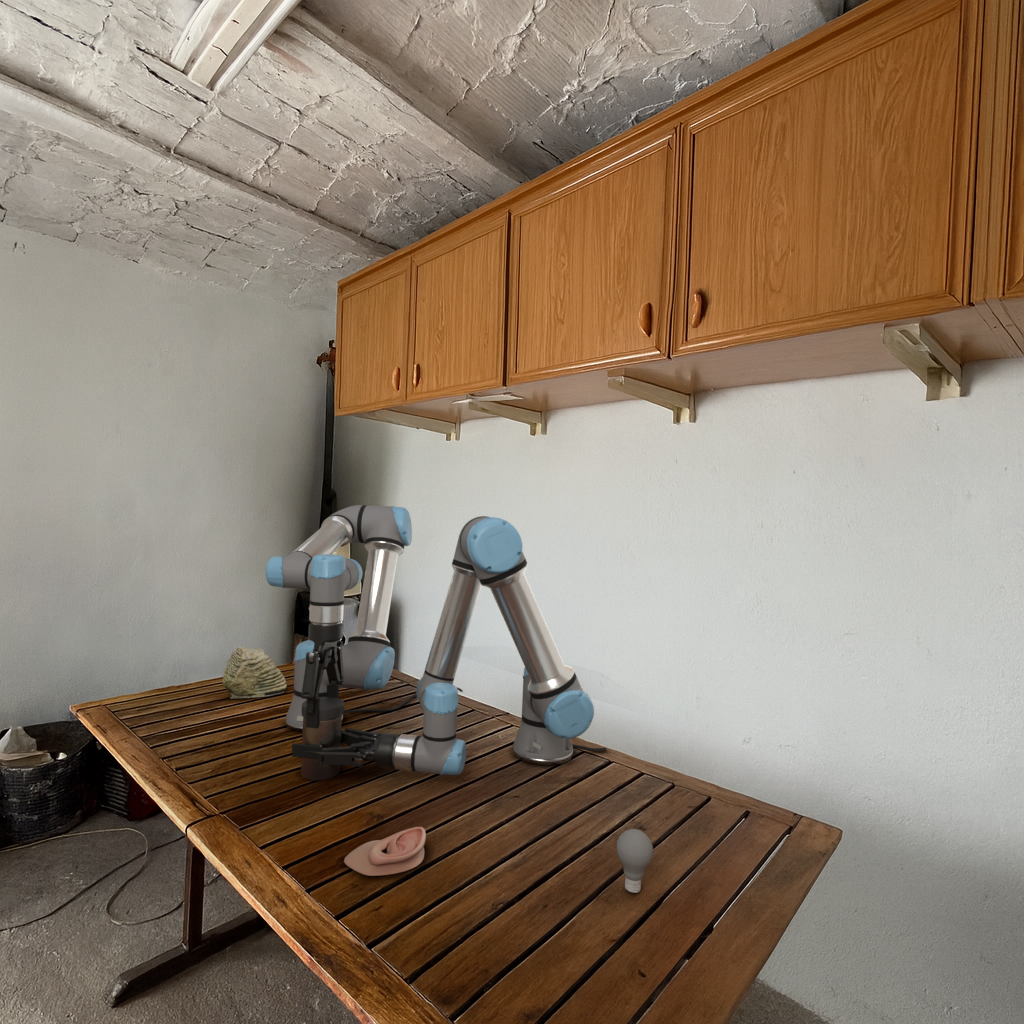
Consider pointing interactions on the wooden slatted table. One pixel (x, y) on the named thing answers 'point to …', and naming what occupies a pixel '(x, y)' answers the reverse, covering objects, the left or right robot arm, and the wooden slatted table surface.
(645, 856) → the light bulb
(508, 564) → the right robot arm
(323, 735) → the jar
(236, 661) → the fossil
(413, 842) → the anatomical model
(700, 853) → the wooden slatted table surface
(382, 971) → the wooden slatted table surface
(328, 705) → the lid
